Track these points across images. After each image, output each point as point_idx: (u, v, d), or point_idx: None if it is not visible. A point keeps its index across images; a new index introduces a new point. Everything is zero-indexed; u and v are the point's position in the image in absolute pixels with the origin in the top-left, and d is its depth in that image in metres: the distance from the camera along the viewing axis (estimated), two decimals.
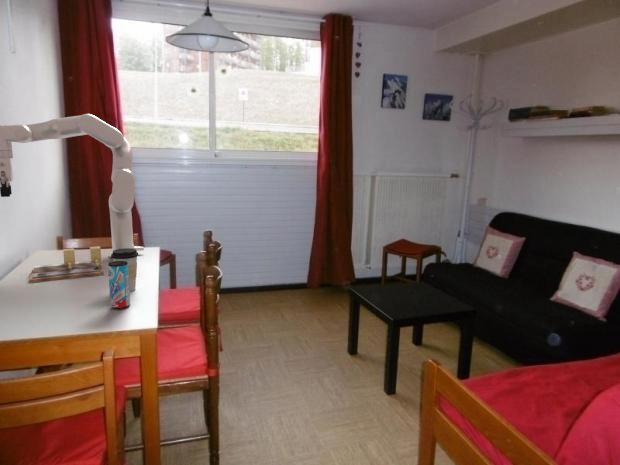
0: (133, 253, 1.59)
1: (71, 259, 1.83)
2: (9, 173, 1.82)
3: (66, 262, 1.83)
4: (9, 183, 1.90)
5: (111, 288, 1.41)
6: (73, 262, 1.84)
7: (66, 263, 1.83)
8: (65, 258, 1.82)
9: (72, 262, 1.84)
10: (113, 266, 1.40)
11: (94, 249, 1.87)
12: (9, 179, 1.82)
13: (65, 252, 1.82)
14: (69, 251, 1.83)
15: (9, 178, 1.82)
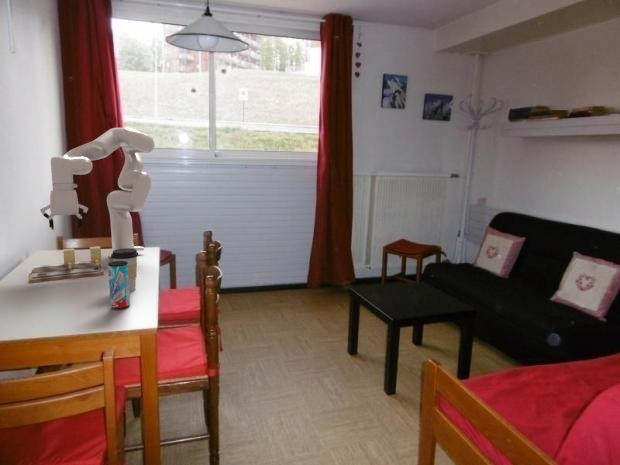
0: (133, 253, 1.59)
1: (71, 259, 1.83)
2: None
3: (66, 262, 1.83)
4: None
5: (111, 288, 1.41)
6: (73, 262, 1.84)
7: (66, 263, 1.83)
8: (65, 258, 1.82)
9: (72, 262, 1.84)
10: (113, 266, 1.40)
11: (94, 249, 1.87)
12: None
13: (65, 252, 1.82)
14: (69, 251, 1.83)
15: None
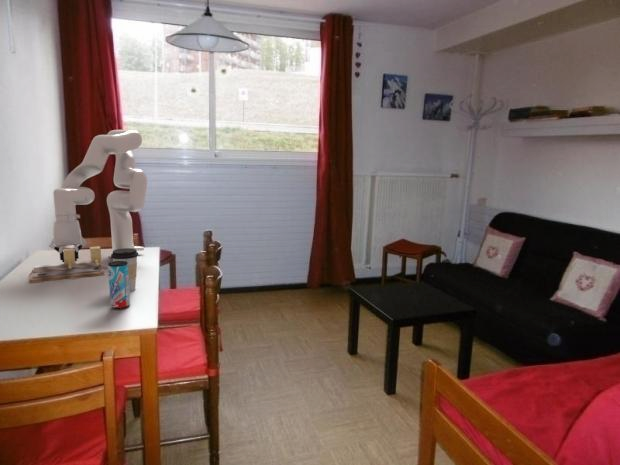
0: (133, 253, 1.59)
1: (71, 259, 1.83)
2: None
3: (66, 262, 1.83)
4: None
5: (111, 288, 1.41)
6: (73, 262, 1.84)
7: (66, 263, 1.83)
8: (65, 258, 1.82)
9: (72, 262, 1.84)
10: (113, 266, 1.40)
11: (94, 249, 1.87)
12: None
13: (65, 252, 1.82)
14: (69, 251, 1.83)
15: None
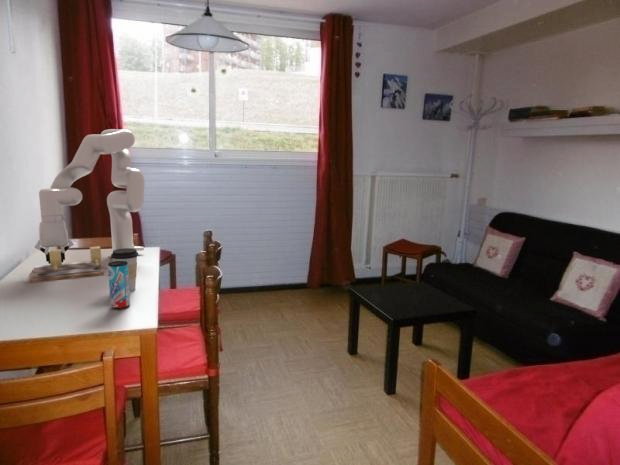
0: (133, 253, 1.59)
1: (57, 260, 1.81)
2: None
3: (52, 263, 1.80)
4: None
5: (111, 288, 1.41)
6: (59, 263, 1.82)
7: (52, 264, 1.80)
8: (51, 259, 1.80)
9: (58, 263, 1.81)
10: (113, 266, 1.40)
11: (94, 249, 1.87)
12: None
13: (51, 253, 1.79)
14: (55, 252, 1.80)
15: None
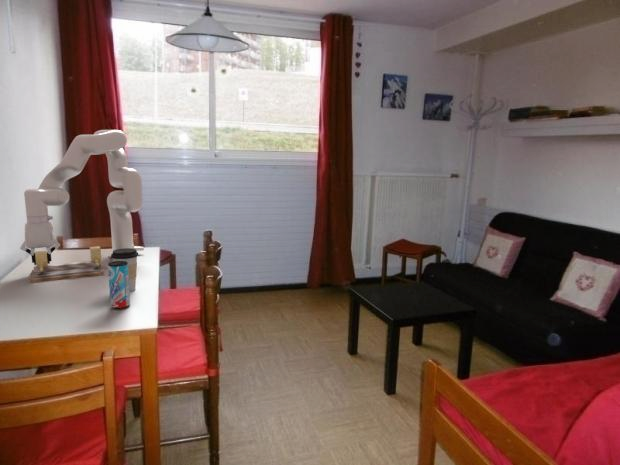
0: (133, 253, 1.59)
1: (43, 262, 1.79)
2: None
3: (38, 265, 1.78)
4: None
5: (111, 288, 1.41)
6: (45, 265, 1.79)
7: (38, 266, 1.78)
8: (37, 260, 1.77)
9: (44, 265, 1.79)
10: (113, 266, 1.40)
11: (94, 249, 1.87)
12: None
13: (37, 254, 1.77)
14: (41, 253, 1.78)
15: None
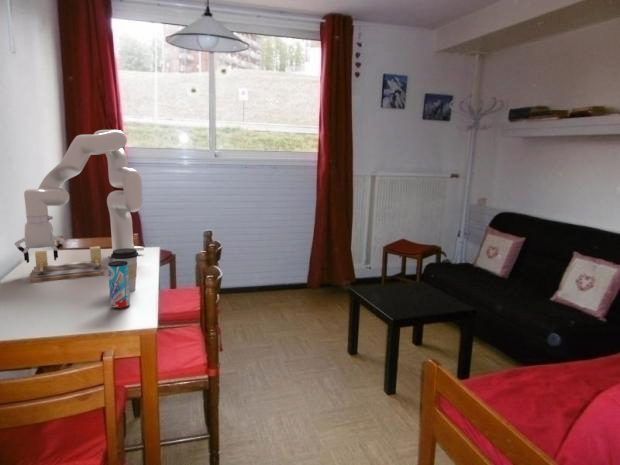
0: (133, 253, 1.59)
1: (43, 262, 1.79)
2: None
3: (38, 265, 1.78)
4: None
5: (111, 288, 1.41)
6: (45, 265, 1.79)
7: (38, 266, 1.78)
8: (37, 261, 1.77)
9: (44, 265, 1.79)
10: (113, 266, 1.40)
11: (94, 249, 1.87)
12: None
13: (37, 254, 1.77)
14: (41, 253, 1.78)
15: None
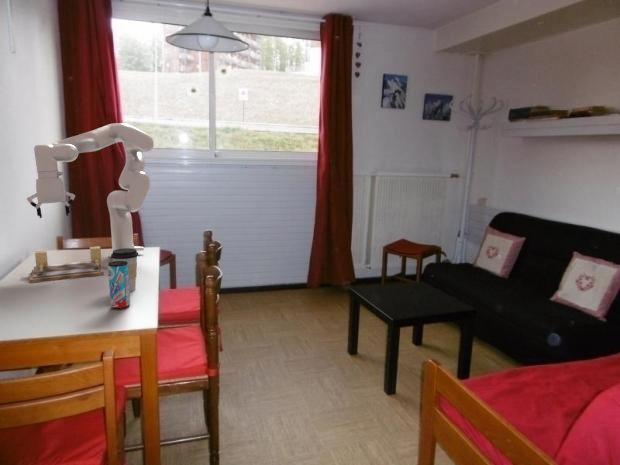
0: (133, 253, 1.59)
1: (43, 262, 1.79)
2: None
3: (38, 265, 1.78)
4: None
5: (111, 288, 1.41)
6: (45, 265, 1.79)
7: (38, 266, 1.78)
8: (37, 261, 1.77)
9: (44, 265, 1.79)
10: (113, 266, 1.40)
11: (94, 249, 1.87)
12: None
13: (37, 254, 1.77)
14: (41, 253, 1.78)
15: None
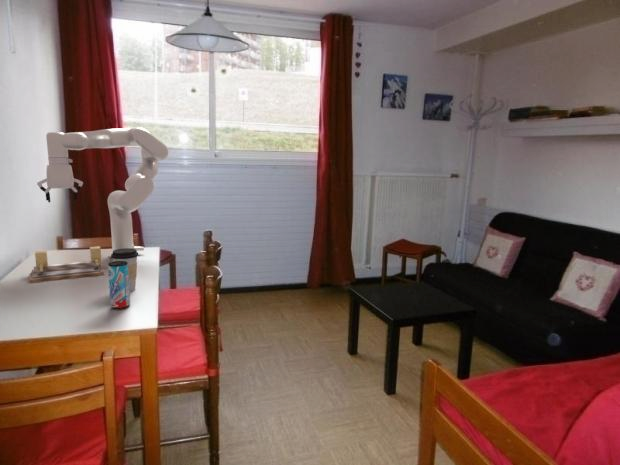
0: (133, 253, 1.59)
1: (43, 262, 1.79)
2: None
3: (38, 265, 1.78)
4: None
5: (111, 288, 1.41)
6: (45, 265, 1.79)
7: (38, 266, 1.78)
8: (37, 261, 1.77)
9: (44, 265, 1.79)
10: (113, 266, 1.40)
11: (94, 249, 1.87)
12: None
13: (37, 254, 1.77)
14: (41, 253, 1.78)
15: None
